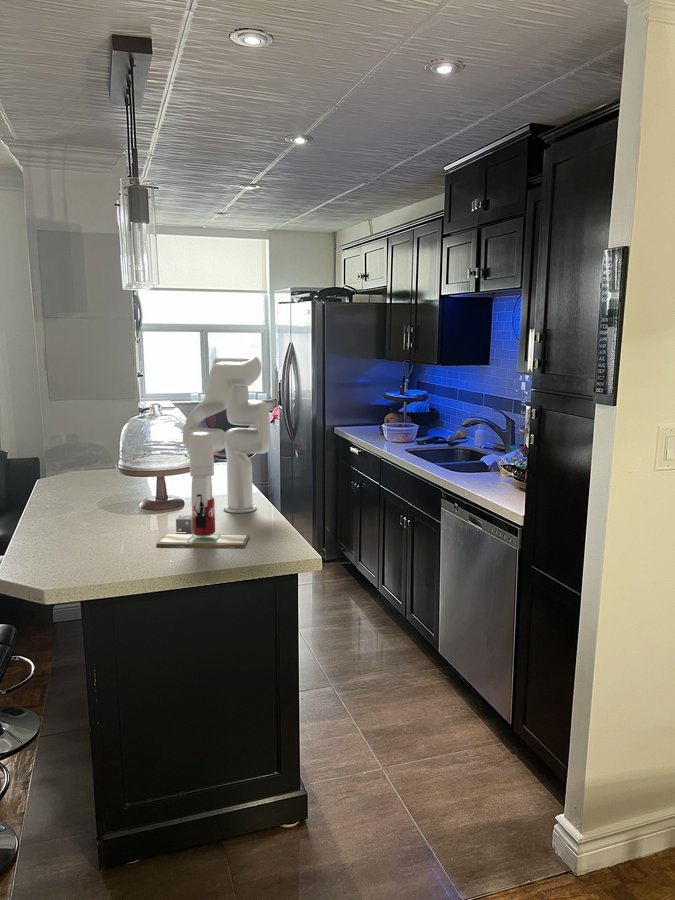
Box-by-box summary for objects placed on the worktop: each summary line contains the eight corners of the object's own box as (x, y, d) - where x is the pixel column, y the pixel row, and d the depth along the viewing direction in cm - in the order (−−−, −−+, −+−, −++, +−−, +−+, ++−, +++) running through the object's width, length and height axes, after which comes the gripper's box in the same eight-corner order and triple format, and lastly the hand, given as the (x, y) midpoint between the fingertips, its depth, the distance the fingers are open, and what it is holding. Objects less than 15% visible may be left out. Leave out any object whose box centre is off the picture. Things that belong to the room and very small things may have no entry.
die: (180, 529, 232) (179, 515, 231) (194, 529, 232) (194, 515, 231) (176, 533, 227) (175, 519, 226) (191, 533, 227) (190, 519, 226)
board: (165, 536, 223) (165, 533, 223) (249, 537, 222) (249, 534, 222) (156, 546, 212) (156, 543, 212) (244, 547, 212) (244, 544, 211)
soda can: (193, 538, 212) (192, 501, 210) (191, 531, 219) (190, 496, 217) (216, 536, 214) (215, 499, 212) (214, 530, 221) (213, 494, 219)
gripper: (196, 465, 222) (198, 516, 225) (183, 476, 205) (185, 531, 208) (219, 465, 222) (220, 517, 225) (208, 476, 205) (209, 532, 208)
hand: (203, 523), depth 216 cm, fingers closed on soda can, 7 cm apart
